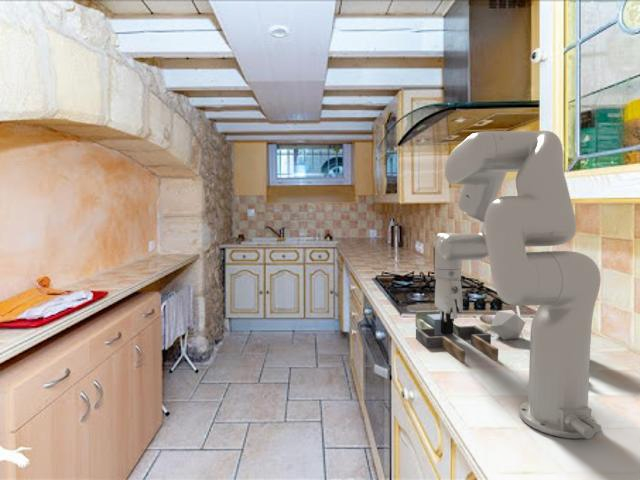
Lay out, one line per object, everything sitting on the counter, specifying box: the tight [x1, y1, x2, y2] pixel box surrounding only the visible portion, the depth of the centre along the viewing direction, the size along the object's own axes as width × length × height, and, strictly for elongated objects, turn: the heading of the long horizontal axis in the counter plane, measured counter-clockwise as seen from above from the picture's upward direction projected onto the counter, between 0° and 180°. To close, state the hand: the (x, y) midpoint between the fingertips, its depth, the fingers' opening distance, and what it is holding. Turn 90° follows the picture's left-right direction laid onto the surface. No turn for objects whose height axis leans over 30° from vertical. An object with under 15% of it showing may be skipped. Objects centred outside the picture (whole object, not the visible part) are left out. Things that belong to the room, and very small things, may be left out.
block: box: [427, 314, 454, 336], centre depth 132 cm, size 6×6×5 cm
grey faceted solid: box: [489, 309, 526, 341], centre depth 126 cm, size 8×9×10 cm
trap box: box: [415, 309, 499, 363], centre depth 123 cm, size 33×19×5 cm, turn 7°
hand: (446, 333), depth 127 cm, fingers closed
